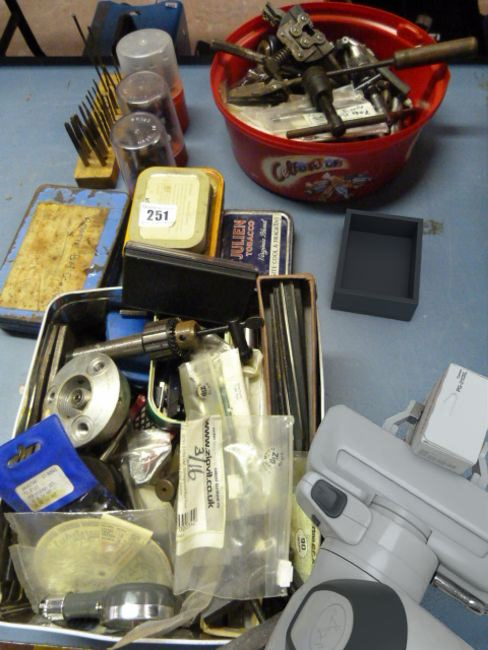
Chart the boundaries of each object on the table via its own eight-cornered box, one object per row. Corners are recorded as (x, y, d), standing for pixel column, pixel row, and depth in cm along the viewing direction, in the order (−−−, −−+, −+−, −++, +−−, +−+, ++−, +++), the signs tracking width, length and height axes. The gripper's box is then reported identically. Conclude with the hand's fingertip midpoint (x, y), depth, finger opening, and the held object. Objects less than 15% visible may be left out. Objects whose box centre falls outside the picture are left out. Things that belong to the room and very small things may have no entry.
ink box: (436, 496, 52) (478, 467, 42) (389, 473, 53) (419, 440, 43) (460, 424, 55) (504, 382, 45) (416, 404, 57) (450, 359, 46)
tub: (410, 321, 74) (418, 304, 70) (330, 309, 75) (334, 291, 71) (415, 238, 81) (423, 218, 77) (342, 228, 83) (346, 208, 78)
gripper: (515, 631, 38) (575, 476, 43) (283, 474, 44) (360, 355, 49) (483, 629, 43) (540, 491, 49) (281, 489, 50) (351, 381, 55)
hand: (448, 421), depth 49 cm, fingers closed on ink box, 5 cm apart
